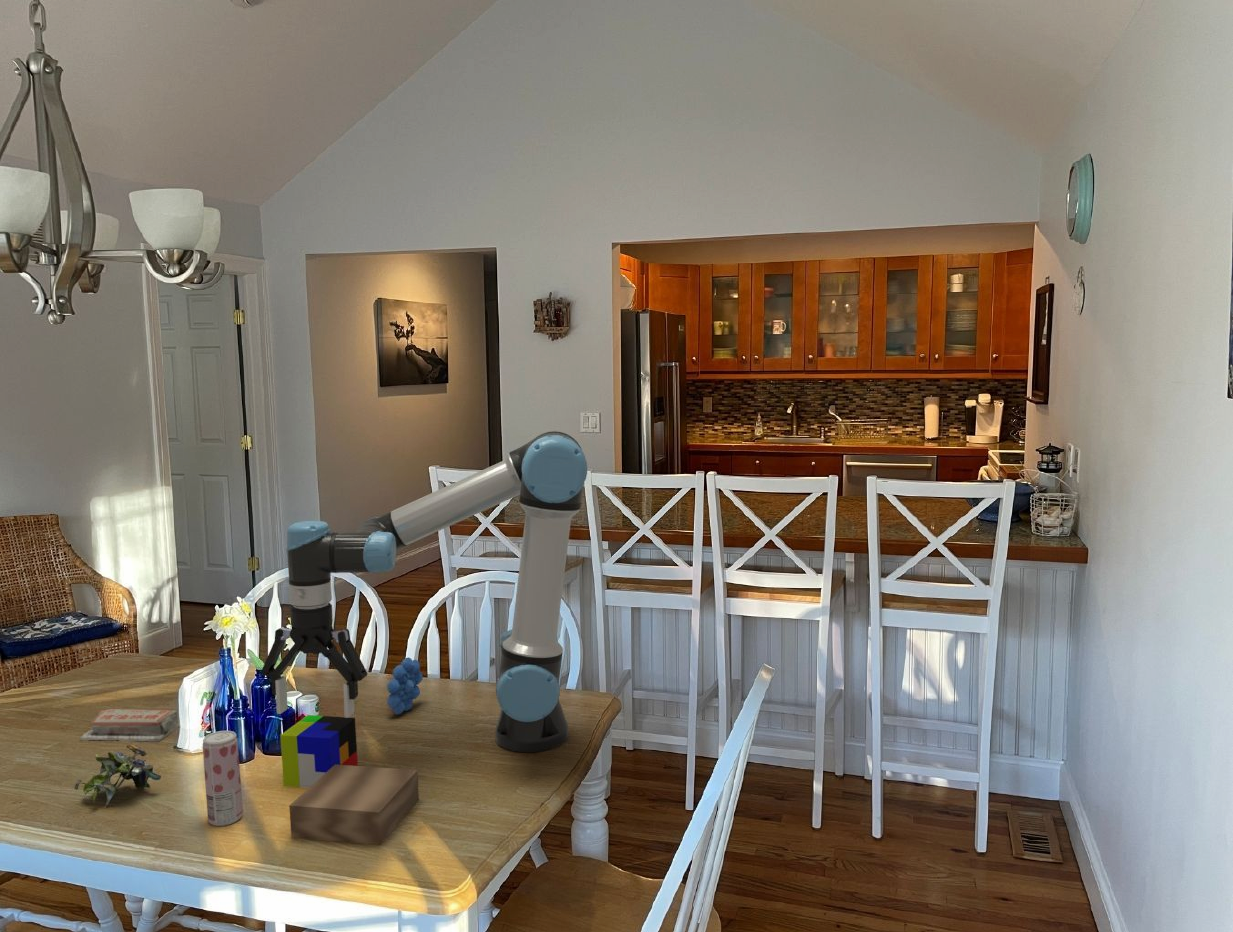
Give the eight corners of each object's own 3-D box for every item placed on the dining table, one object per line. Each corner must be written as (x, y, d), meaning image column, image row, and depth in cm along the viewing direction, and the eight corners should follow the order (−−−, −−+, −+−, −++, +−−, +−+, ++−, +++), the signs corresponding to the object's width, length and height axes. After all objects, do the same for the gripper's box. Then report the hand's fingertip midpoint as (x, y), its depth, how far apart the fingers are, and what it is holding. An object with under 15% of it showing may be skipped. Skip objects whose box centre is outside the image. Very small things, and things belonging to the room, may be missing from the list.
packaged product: (183, 704, 209) (158, 722, 200) (185, 725, 210) (160, 744, 200) (106, 703, 211) (76, 720, 201) (107, 724, 212) (79, 742, 202)
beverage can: (248, 810, 169) (242, 729, 167) (236, 826, 163) (229, 742, 162) (215, 811, 169) (209, 730, 167) (202, 827, 163) (196, 743, 161)
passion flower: (141, 816, 179) (176, 765, 178) (99, 834, 168) (136, 780, 167) (100, 778, 181) (134, 728, 180) (56, 794, 170) (92, 740, 170)
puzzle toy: (332, 789, 176) (329, 738, 175) (283, 786, 178) (280, 735, 177) (357, 766, 186) (355, 717, 185) (311, 763, 188) (308, 714, 187)
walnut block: (418, 801, 172) (417, 769, 171) (380, 846, 156) (379, 812, 155) (336, 795, 175) (335, 764, 174) (291, 839, 159) (289, 805, 158)
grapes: (406, 699, 222) (404, 649, 220) (430, 703, 219) (428, 653, 218) (374, 717, 211) (371, 664, 210) (398, 721, 209) (396, 668, 207)
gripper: (238, 606, 177) (244, 716, 179) (365, 611, 173) (369, 724, 175) (259, 596, 184) (264, 702, 186) (382, 601, 180) (385, 709, 183)
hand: (315, 713), depth 181 cm, fingers open, 13 cm apart
